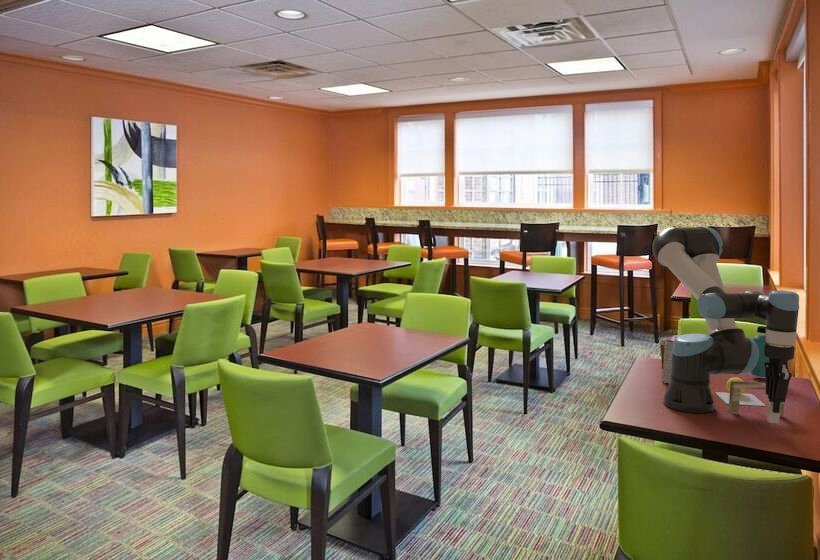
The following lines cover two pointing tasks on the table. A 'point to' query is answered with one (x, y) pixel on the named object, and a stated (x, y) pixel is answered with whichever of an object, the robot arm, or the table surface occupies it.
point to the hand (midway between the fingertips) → (772, 421)
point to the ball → (734, 381)
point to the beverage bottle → (760, 353)
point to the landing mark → (741, 399)
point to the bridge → (735, 395)
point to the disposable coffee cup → (662, 348)
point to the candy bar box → (668, 358)
